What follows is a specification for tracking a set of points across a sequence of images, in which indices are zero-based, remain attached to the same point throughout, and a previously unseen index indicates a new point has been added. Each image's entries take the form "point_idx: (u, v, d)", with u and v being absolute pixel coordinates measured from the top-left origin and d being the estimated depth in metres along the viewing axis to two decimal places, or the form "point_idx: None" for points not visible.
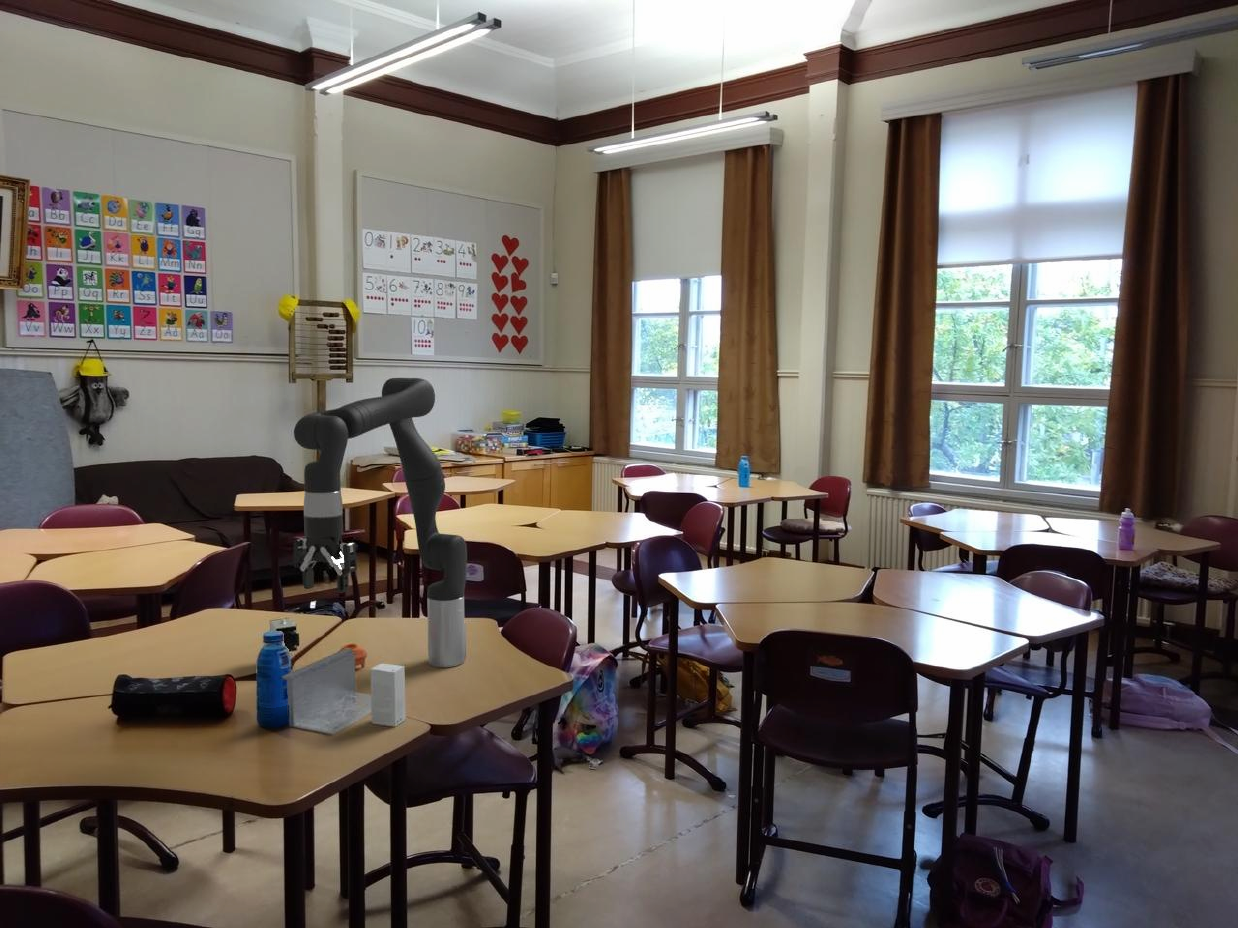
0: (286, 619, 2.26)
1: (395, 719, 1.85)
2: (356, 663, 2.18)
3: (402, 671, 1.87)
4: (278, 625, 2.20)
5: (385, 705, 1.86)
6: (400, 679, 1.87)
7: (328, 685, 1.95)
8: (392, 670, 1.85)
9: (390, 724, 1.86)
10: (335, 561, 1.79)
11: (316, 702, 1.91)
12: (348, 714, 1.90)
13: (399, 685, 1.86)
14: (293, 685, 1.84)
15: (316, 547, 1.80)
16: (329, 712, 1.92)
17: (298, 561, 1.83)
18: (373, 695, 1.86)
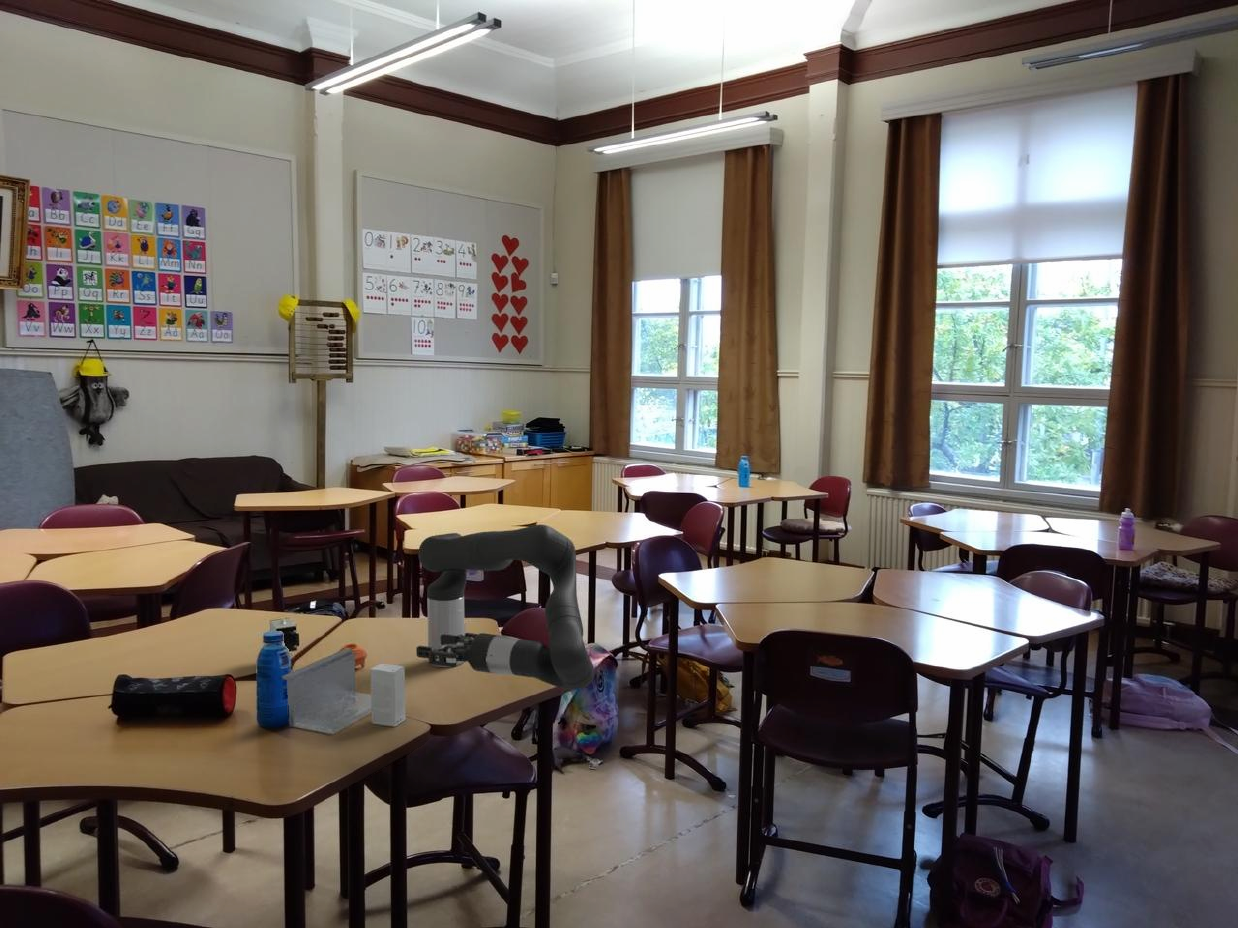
0: (286, 619, 2.26)
1: (395, 719, 1.85)
2: (356, 663, 2.18)
3: (402, 671, 1.87)
4: (278, 625, 2.20)
5: (385, 705, 1.86)
6: (400, 679, 1.87)
7: (328, 685, 1.95)
8: (392, 670, 1.85)
9: (390, 724, 1.86)
10: None
11: (316, 702, 1.91)
12: (348, 714, 1.90)
13: (399, 685, 1.86)
14: (293, 685, 1.84)
15: None
16: (329, 712, 1.92)
17: None
18: (373, 695, 1.86)
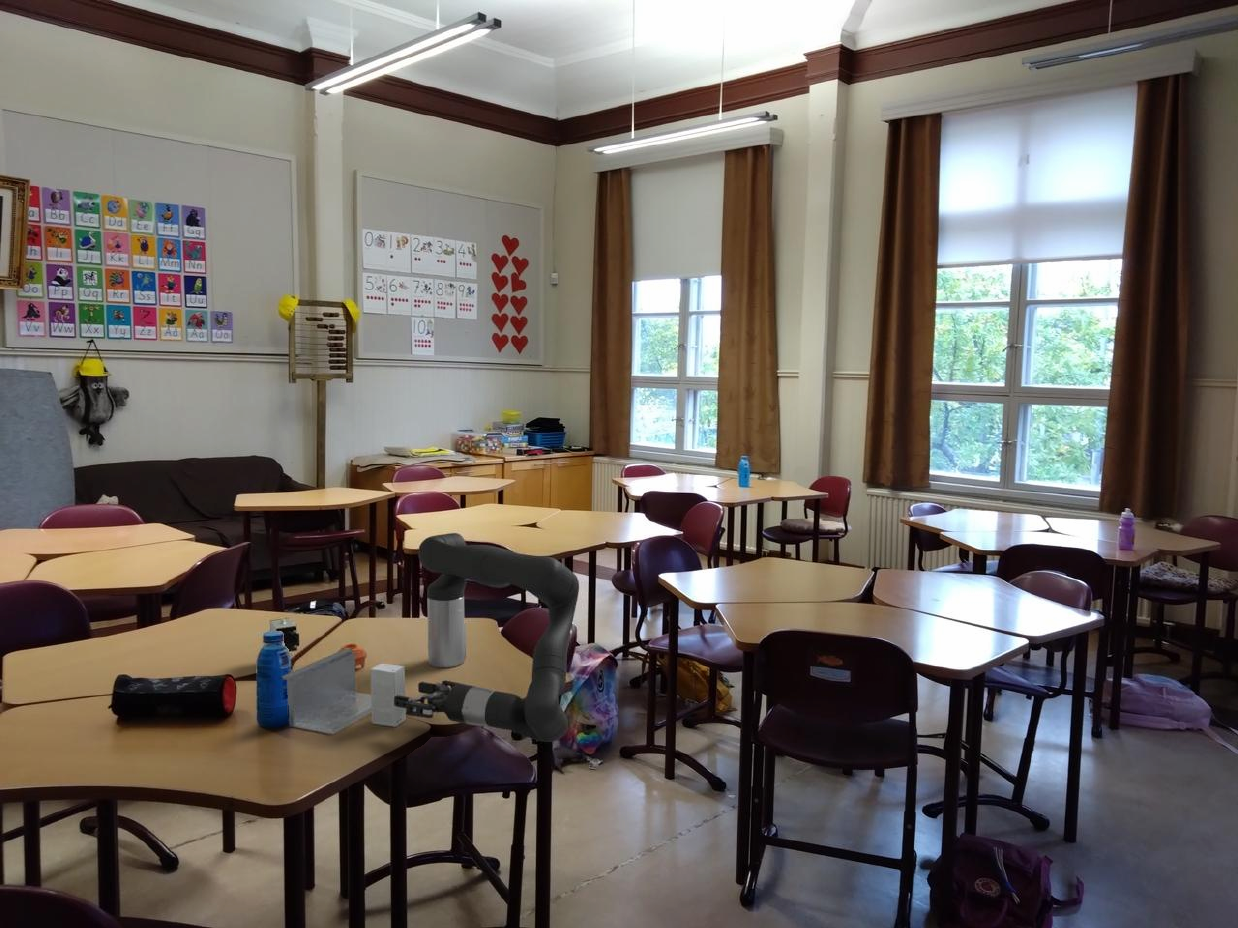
0: (286, 619, 2.26)
1: (395, 719, 1.85)
2: (355, 663, 2.18)
3: (402, 671, 1.87)
4: (279, 625, 2.20)
5: (385, 705, 1.86)
6: (400, 679, 1.87)
7: (328, 685, 1.95)
8: (392, 670, 1.85)
9: (390, 724, 1.86)
10: None
11: (316, 702, 1.91)
12: (348, 714, 1.90)
13: (399, 685, 1.86)
14: (293, 685, 1.84)
15: None
16: (329, 712, 1.92)
17: None
18: (373, 695, 1.86)
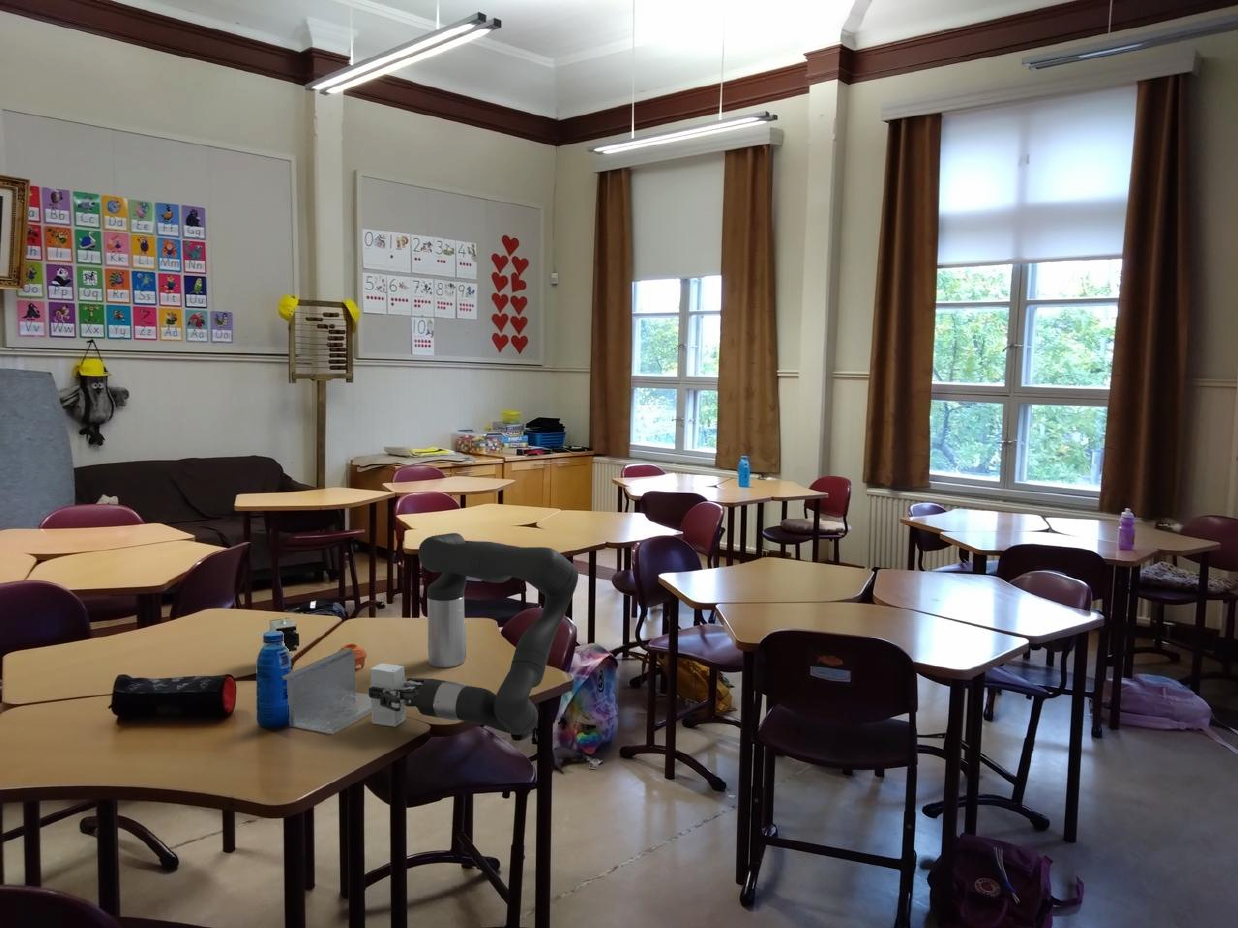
0: (286, 619, 2.26)
1: (395, 719, 1.85)
2: (355, 663, 2.18)
3: (402, 671, 1.87)
4: (278, 625, 2.20)
5: None
6: (400, 679, 1.87)
7: (328, 685, 1.95)
8: (392, 670, 1.85)
9: (390, 724, 1.85)
10: None
11: (316, 702, 1.91)
12: (348, 714, 1.90)
13: (399, 685, 1.86)
14: (293, 685, 1.84)
15: None
16: (329, 712, 1.92)
17: None
18: None
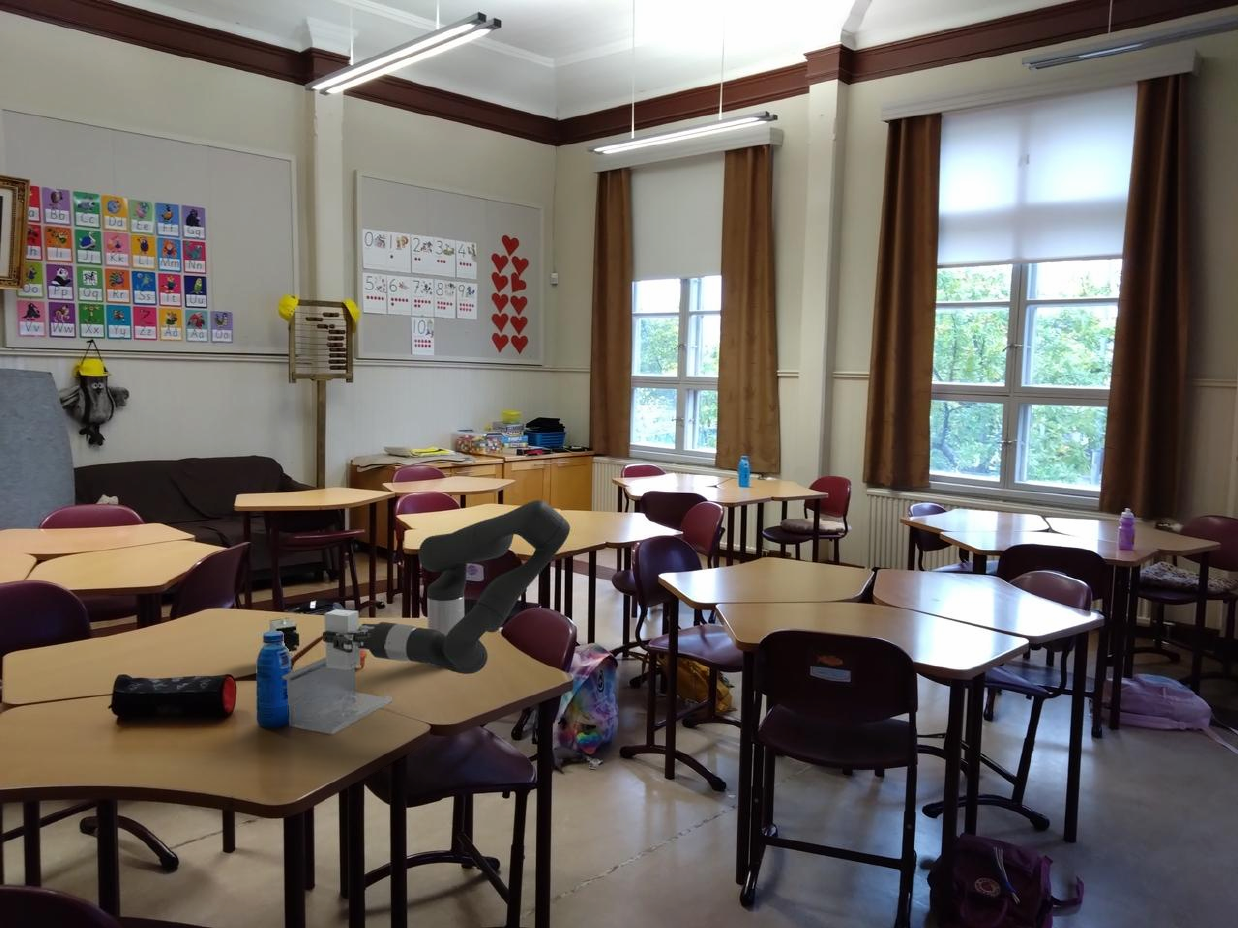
0: (286, 619, 2.26)
1: (349, 662, 1.88)
2: None
3: (355, 615, 1.90)
4: (278, 625, 2.20)
5: None
6: (354, 623, 1.90)
7: (328, 685, 1.95)
8: (346, 614, 1.88)
9: (344, 667, 1.89)
10: None
11: (316, 702, 1.91)
12: (348, 714, 1.90)
13: (352, 630, 1.89)
14: (293, 685, 1.84)
15: None
16: (329, 712, 1.92)
17: None
18: None
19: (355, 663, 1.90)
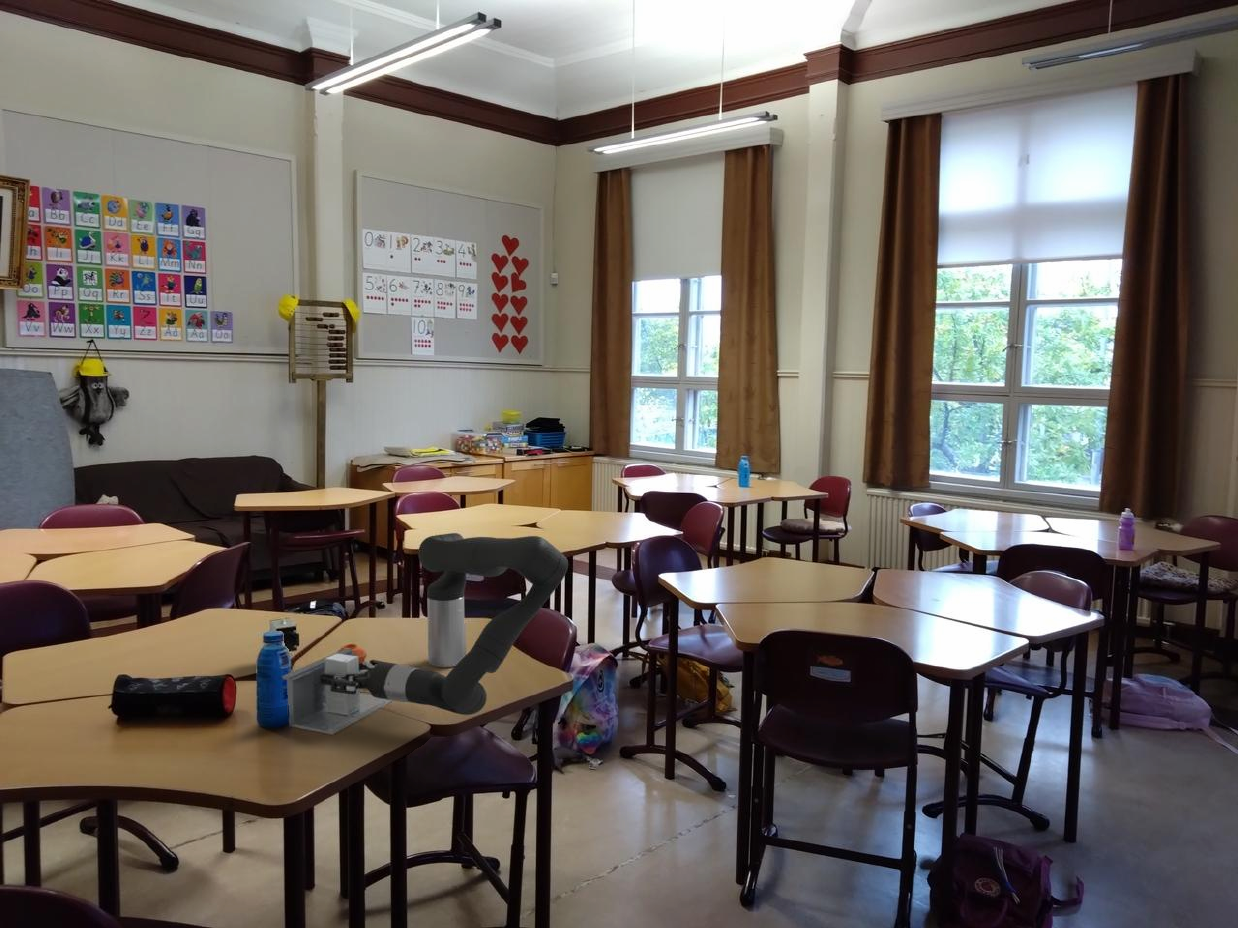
0: (286, 619, 2.26)
1: (348, 708, 1.89)
2: None
3: (355, 661, 1.91)
4: (278, 625, 2.20)
5: (338, 694, 1.90)
6: (353, 669, 1.91)
7: None
8: (345, 660, 1.89)
9: (343, 713, 1.90)
10: None
11: (316, 702, 1.91)
12: None
13: None
14: (293, 685, 1.84)
15: None
16: (329, 712, 1.92)
17: None
18: None
19: (354, 708, 1.91)
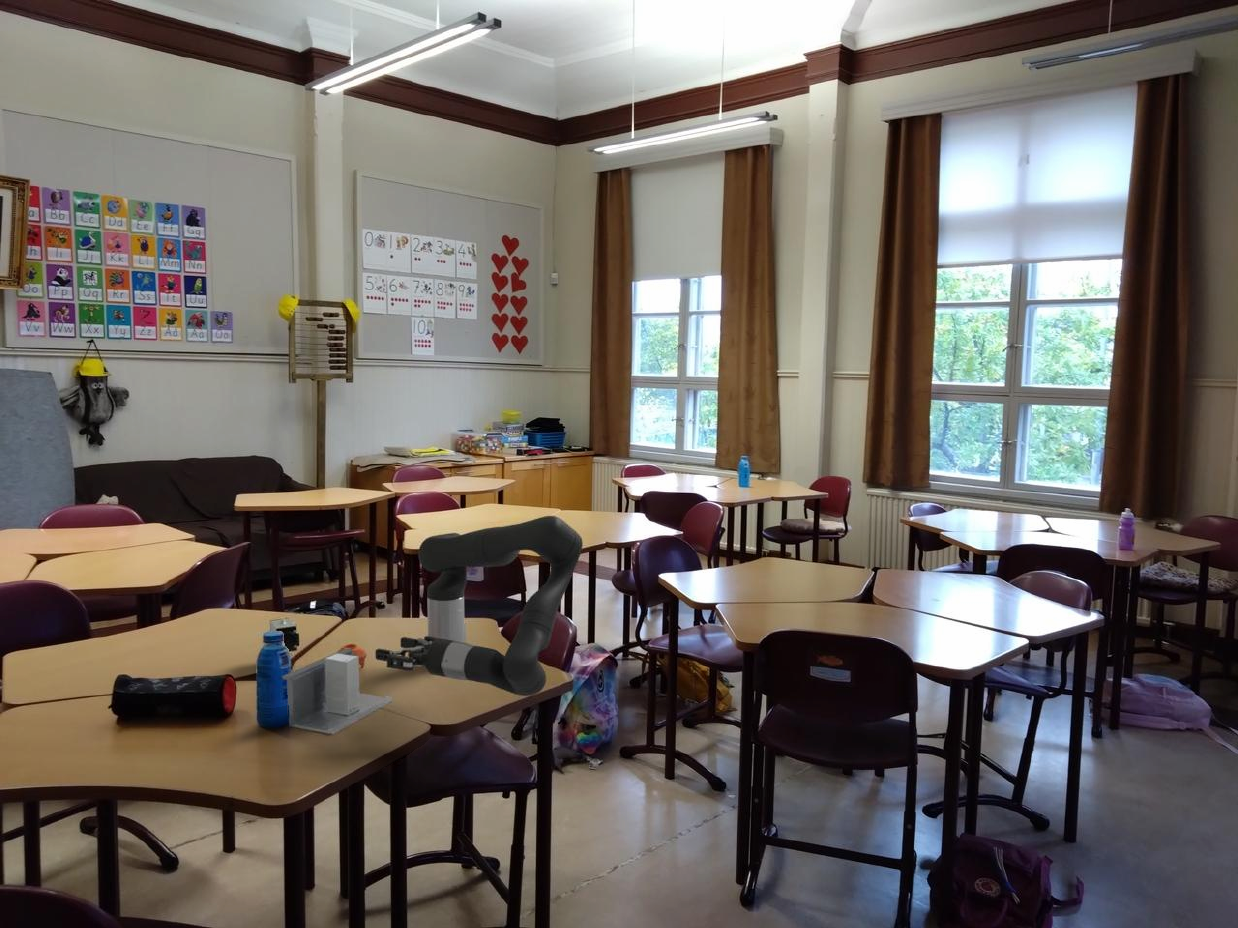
0: (286, 619, 2.26)
1: (348, 708, 1.89)
2: None
3: (355, 661, 1.91)
4: (278, 625, 2.20)
5: (338, 694, 1.90)
6: (354, 669, 1.91)
7: None
8: (345, 660, 1.89)
9: (343, 713, 1.90)
10: None
11: (316, 702, 1.91)
12: None
13: (352, 675, 1.90)
14: (293, 685, 1.84)
15: None
16: (329, 712, 1.92)
17: None
18: (327, 684, 1.91)
19: (354, 708, 1.91)
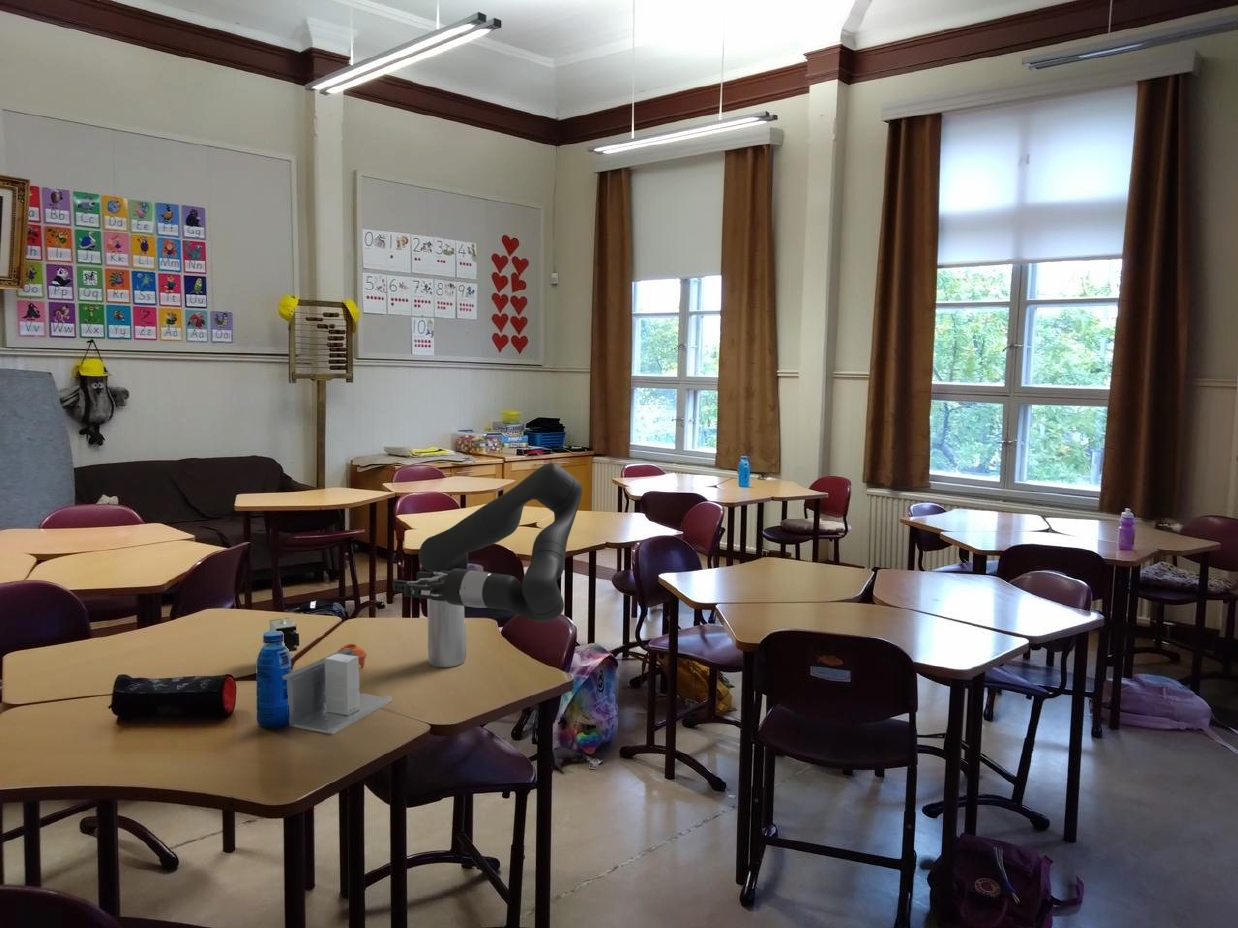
0: (286, 619, 2.26)
1: (348, 708, 1.89)
2: None
3: (355, 661, 1.91)
4: (278, 625, 2.20)
5: (338, 694, 1.90)
6: (353, 669, 1.91)
7: None
8: (345, 660, 1.89)
9: (343, 713, 1.90)
10: None
11: (316, 702, 1.91)
12: None
13: (352, 675, 1.90)
14: (293, 685, 1.84)
15: None
16: (329, 712, 1.92)
17: None
18: (327, 684, 1.91)
19: (354, 708, 1.91)
